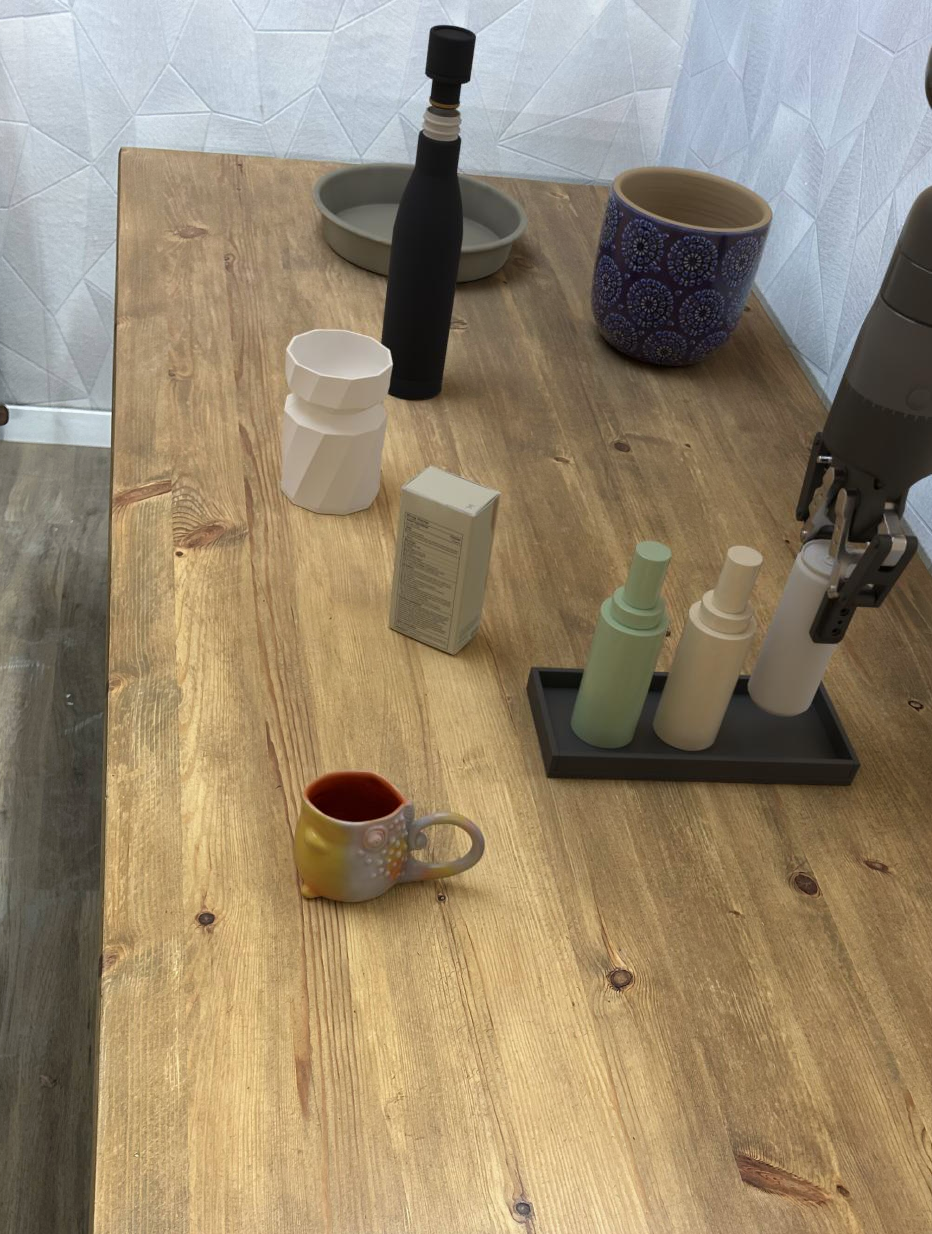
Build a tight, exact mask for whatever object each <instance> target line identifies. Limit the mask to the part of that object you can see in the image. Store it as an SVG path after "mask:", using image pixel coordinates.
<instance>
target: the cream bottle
mask: <svg viewBox="0 0 932 1234" xmlns="http://www.w3.org/2000/svg"><path fill="white" fill-rule="evenodd" d="M763 562H764V557H763V555H762V554H761V553H760V551H758V550H756V549H754V548H752V547H750V546H746V545H734V546H731V547H729V548H728V550H727V551H726V555H725V558H724V561H723V563H722V566H721V570H720V572H719V576H718V578H717V582H716V584H715V586H714V588H713V589H710V590H707V591H706V592H705V593H704V594H703V595H702V598H701V599H699V600H697V601H695V602H694V603H692V604H691V606H690V607H689V610H688V612H687V616H686V618H685V622H684V624H683V628H682V631H681V634H680V637H679V640H678V643H677V646H676V649H675V652H674V656H673V658H672V661H671V665H670V668H669V671H668V672H669V674H668V677H667V680H666V683H665V686H664V689H663V692H662V695H661V698H660V701H659V704H658V707H657V710H656V713H655V716H654V720H653V728H654V731H655V733H656V734H657V736H658V737H659V738H660V739H661V740H662V741H664V742H665V743H667V744H668V745H670V746H672V747H675V748H678V749H681V750H686V751H700V750H704V749H706V748H708V747H710V746H711V745H712V744H713V743H714V742H715V740H716V737H717V734H718V732H719V729H720V726H721V724H722V721H723V718H724V716H725V713H726V710H727V708H728V705H729V702H730V700H731V697H732V694H733V692H734V689H735V686H736V684H737V681H738V678H739V676H740V675H741V673H742V671H743V667H744V665H745V662H746V659H747V657H748V655H749V651H750V649H751V646H752V643H753V641H754V637H755V636H756V633H757V631H758V622H757V619H756V618H755V616H754V613H755V607H754V604H753V602H752V601H751V600H750V597H751V595H752V592H753V590H754V586H755V584H756V582H757V578H758V575H759V573H760V570H761V568H762V565H763Z"/></svg>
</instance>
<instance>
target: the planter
mask: <svg viewBox="0 0 932 1234" xmlns="http://www.w3.org/2000/svg"><path fill="white" fill-rule="evenodd" d="M773 217H774V215H773V209H772V208H771V206H770V205H769V203H768V202H767V201H766V200H765V199H764V198H763V197H762V196H760V195H759V194H758V193H757V192H755V191H754V190H752V189H750V188H749V187H746V186H744V185H743V184H740V183H738V182H737V181H733V180H730V179H729V178H725V177H722V176H719V175H717V174H713V173H709V172H705V171H701V170H696V169H692V168H691V169H690V168H684V167H678V166H677V167H674V166H661V165H660V166H659V165H657V166H656V165H655V166H641V167H634V168H630V169H627V170H625V171H623V172H621V173H619V174H618V175H616V176H615V178H613V180H612V182H611V185H610V189H609V193H608V197H607V201H606V206H605V209H604V214H603V218H602V223H601V227H600V232H599V236H598V237H599V238H598V242H597V248H596V254H595V258H594V263H593V271H592V277H591V286H590V309H591V314H592V318H593V320H594V322H595V325H596V327H597V329H598V331H599V332H600V334H601V336H602V337H603V339H605V340H606V341H607V343H609V345H610V346H611V347H612V348H613V349H616V350H617V351H618V352H620V353H622V354H624V355H626V356H627V357H630V358H632V359H634V360H638V361H639V362H640V361H642V362H644V363H648V364H653V365H657V366H664V367H665V366H667V367H680V366H690V365H694V364H697V363H699V362H702V361H704V360H707V359H709V358H710V357H712V356H713V355H715V354H716V353H717V352H718V351H719V350H721V349H722V348H723V347H724V346H725V345H726V344H727V343H728V342H729V341H730V339H731V338H732V337H733V335H734V333H735V331H736V330H737V328H738V326H739V323H740V321H741V318H742V316H743V313H744V311H745V308H746V306H747V303H748V301H749V298H750V295H751V292H752V289H753V287H754V283H755V280H756V277H757V274H758V271H759V268H760V264H761V262H762V257H763V255H764V251H765V248H766V244H767V242H768V237H769V234H770V230H771V226H772V222H773Z"/></svg>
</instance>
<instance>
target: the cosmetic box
mask: <svg viewBox="0 0 932 1234" xmlns="http://www.w3.org/2000/svg"><path fill="white" fill-rule="evenodd" d="M400 491H401V492H400V500H399V501H400V502H399V511H398V521H397V532H396V542H395V550H394V551H395V552H394V562H393V563H394V564H393V574H392V584H391V593H390V603H389V613H388V624H387V625H388V628H390V629H391V630H393V631H395V632H398V633H400V634H403V635H404V636H407V637H409V638H412V639H414V640H416V641H419V642H421V643H424V644H425V645H428V646H431V647H432V648H435V649H437V650H440V651H442V652H444V653H448V654H451V655H453V656H455V655H457V653H458V652H459V651H460V650H462V648H464V647H465V646H466V645H467V644H468V643H469V642H470V641H471V640H472V639H473V638H474V637H475V636H476V635H477V634H478V632H479V631H480V627H481V621H482V616H483V615H482V614H483V610H484V609H483V608H484V604H485V603H484V602H485V596H486V589H487V583H488V576H489V570H490V565H491V558H492V551H493V546H494V539H495V534H496V533H495V532H496V526H497V519H498V513H499V508H500V507H499V506H500V501H501V500H500V499H501V492H500V491H498V490H497V489H494V488H491V487H488V486H486V485H484V484H482V483H478V482H476V481H473V480H471V479H469V478H466V477H463V476H461V475H457V474H455V473H452V472H449V471H447V470H444V469H441V468H439V467H436V466H434V465H429V466H428V467H426V468H425V469H423V470H422V471H420V472H419V473H418V474H416V475H415V476H413V477H412V478H411V479H410V480H408V481H407V482H405V483H404V484H403V485H402V486H401V490H400Z"/></svg>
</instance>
